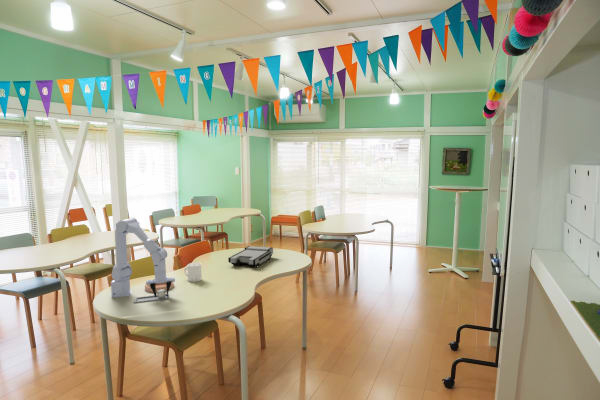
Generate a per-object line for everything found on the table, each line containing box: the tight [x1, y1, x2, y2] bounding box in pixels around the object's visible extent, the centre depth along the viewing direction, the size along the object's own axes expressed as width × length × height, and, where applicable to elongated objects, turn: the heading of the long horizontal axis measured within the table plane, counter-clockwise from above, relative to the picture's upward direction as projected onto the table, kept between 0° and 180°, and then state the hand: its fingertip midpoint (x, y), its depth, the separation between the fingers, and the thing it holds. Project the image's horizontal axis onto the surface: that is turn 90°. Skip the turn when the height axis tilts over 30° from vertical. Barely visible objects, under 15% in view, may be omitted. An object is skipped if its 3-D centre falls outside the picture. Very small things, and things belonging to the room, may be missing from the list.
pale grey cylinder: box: [156, 289, 166, 299], centre depth 201 cm, size 4×4×4 cm
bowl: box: [144, 282, 175, 293], centre depth 218 cm, size 16×16×3 cm
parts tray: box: [133, 293, 170, 304], centre depth 200 cm, size 17×7×1 cm, turn 108°
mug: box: [184, 262, 203, 283], centre depth 233 cm, size 12×8×10 cm
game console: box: [227, 245, 274, 268], centre depth 272 cm, size 21×32×8 cm, turn 162°
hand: (161, 295), depth 201 cm, fingers open, 5 cm apart
